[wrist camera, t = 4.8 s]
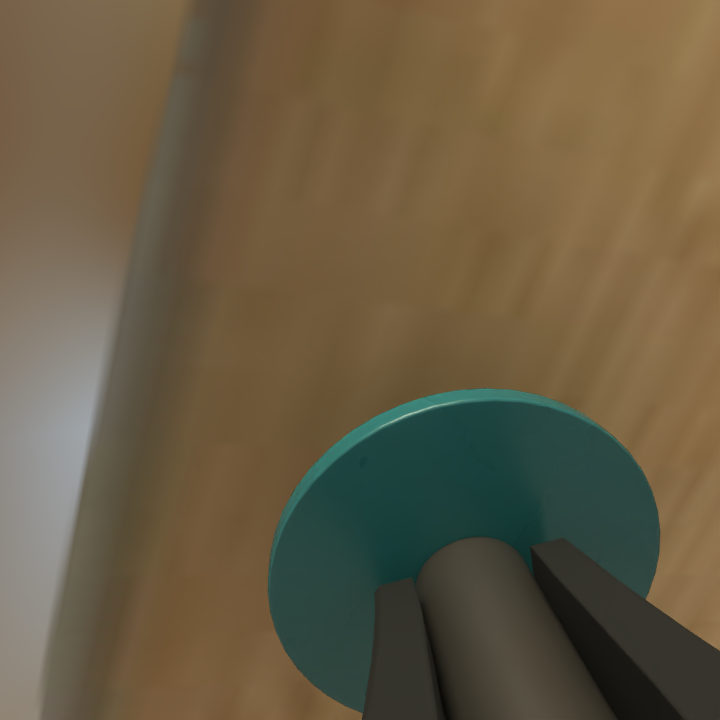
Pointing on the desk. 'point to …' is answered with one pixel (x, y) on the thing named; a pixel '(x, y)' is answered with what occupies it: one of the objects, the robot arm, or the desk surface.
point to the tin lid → (460, 548)
